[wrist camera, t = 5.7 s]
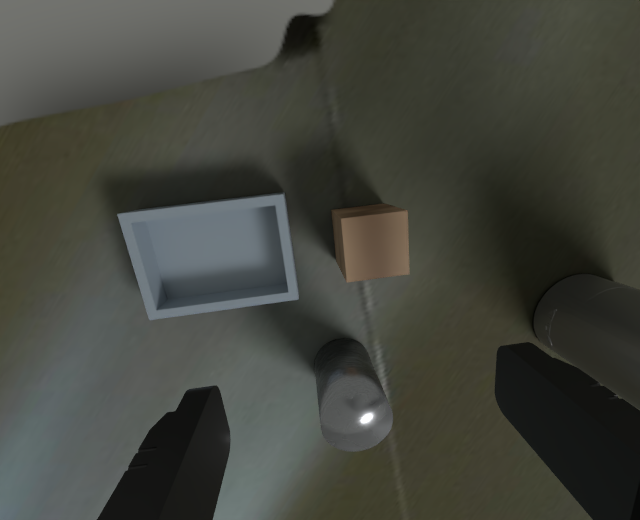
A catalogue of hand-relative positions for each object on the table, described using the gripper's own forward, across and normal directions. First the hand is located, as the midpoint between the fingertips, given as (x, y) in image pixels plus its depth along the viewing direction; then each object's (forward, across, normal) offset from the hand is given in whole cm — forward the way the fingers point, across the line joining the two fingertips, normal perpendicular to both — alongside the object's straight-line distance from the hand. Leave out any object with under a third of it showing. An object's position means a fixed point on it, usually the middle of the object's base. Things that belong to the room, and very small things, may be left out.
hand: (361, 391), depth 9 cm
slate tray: (+20, +9, 0) cm, 22 cm away
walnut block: (+21, -4, 0) cm, 21 cm away
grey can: (+21, -1, +14) cm, 25 cm away
